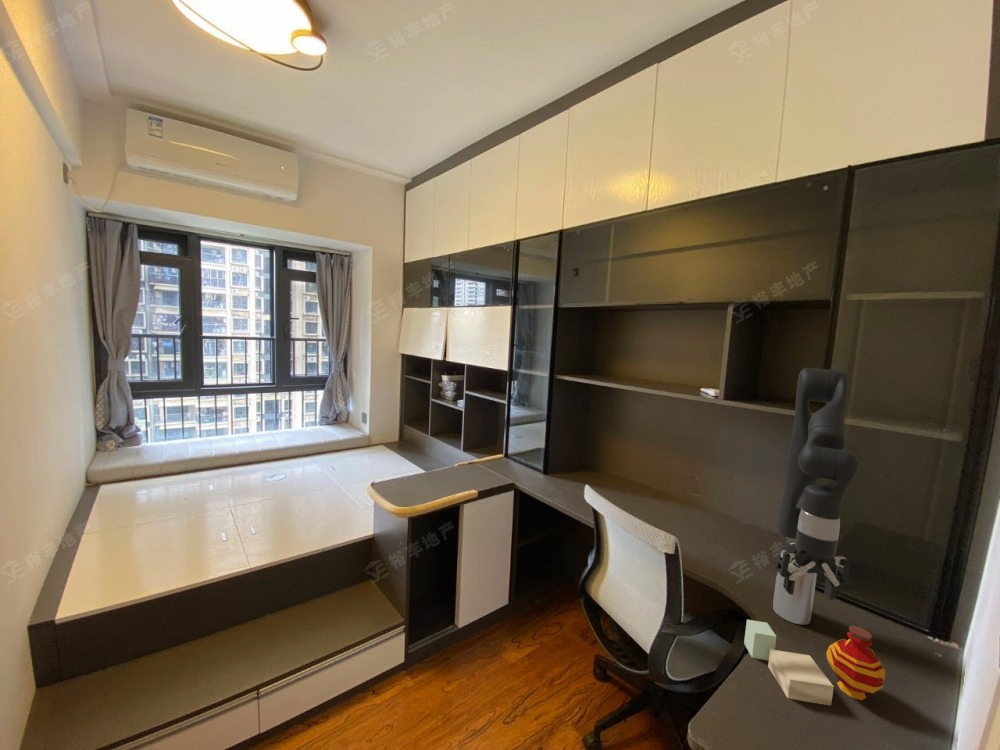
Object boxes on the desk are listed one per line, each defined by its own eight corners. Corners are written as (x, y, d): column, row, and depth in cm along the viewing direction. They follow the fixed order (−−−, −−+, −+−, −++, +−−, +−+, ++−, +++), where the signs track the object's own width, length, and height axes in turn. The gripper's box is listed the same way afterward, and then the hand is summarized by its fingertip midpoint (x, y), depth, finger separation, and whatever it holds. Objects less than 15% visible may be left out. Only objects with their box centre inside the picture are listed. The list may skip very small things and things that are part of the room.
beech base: (767, 667, 101) (770, 649, 100) (806, 673, 99) (809, 655, 99) (787, 699, 92) (790, 679, 91) (830, 706, 90) (833, 686, 90)
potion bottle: (852, 671, 100) (860, 616, 99) (893, 710, 90) (904, 649, 88) (812, 671, 100) (819, 615, 98) (849, 709, 89) (858, 648, 88)
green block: (744, 643, 108) (746, 619, 107) (764, 646, 107) (767, 622, 106) (752, 657, 103) (755, 632, 102) (773, 661, 102) (776, 636, 102)
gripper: (840, 526, 95) (831, 589, 97) (775, 519, 97) (768, 581, 99) (863, 543, 88) (853, 610, 90) (793, 535, 90) (784, 601, 92)
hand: (808, 595), depth 95 cm, fingers open, 8 cm apart
